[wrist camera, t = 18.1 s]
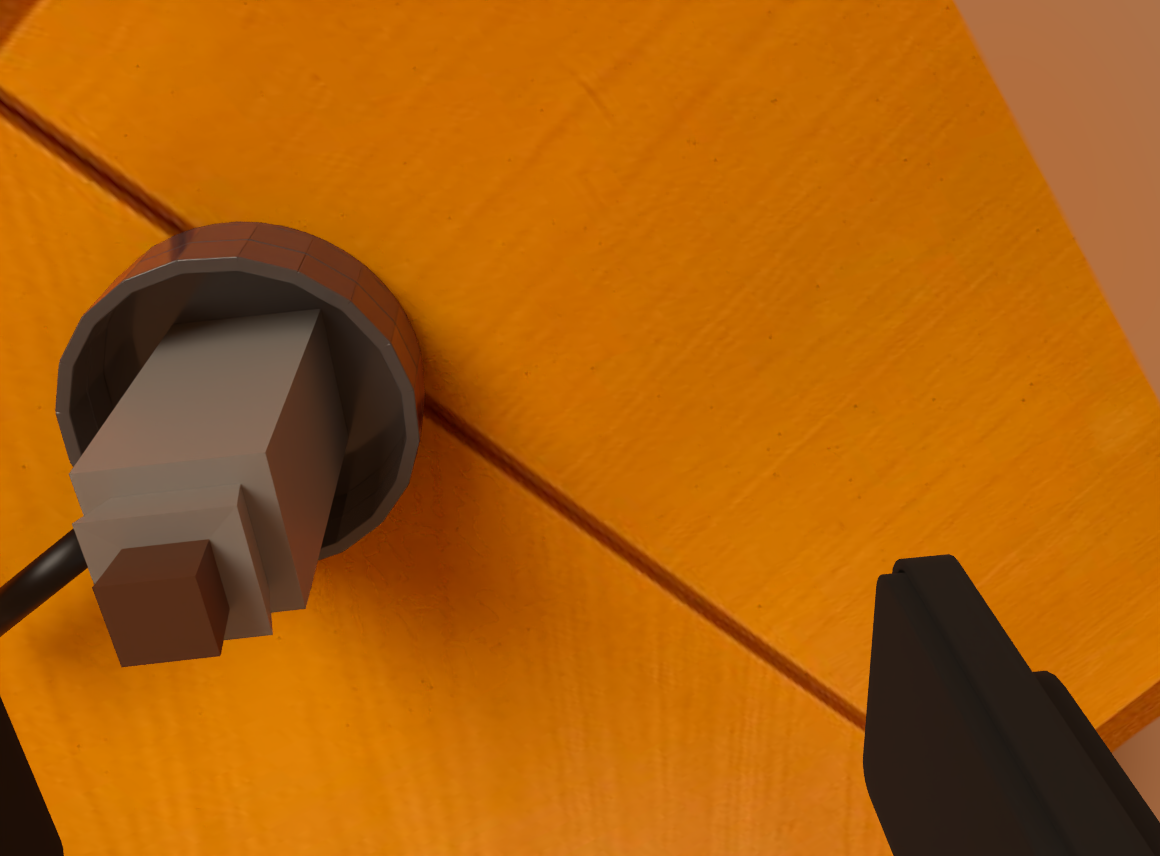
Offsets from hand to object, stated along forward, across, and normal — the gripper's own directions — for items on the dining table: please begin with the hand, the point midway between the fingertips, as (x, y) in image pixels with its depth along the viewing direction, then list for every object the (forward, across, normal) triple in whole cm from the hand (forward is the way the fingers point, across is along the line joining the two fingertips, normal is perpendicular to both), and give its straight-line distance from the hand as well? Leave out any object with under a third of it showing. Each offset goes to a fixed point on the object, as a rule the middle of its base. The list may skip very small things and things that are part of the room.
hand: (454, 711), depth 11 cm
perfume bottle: (+38, +12, +13) cm, 42 cm away
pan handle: (+35, +24, +21) cm, 47 cm away
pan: (+38, +12, +13) cm, 42 cm away
